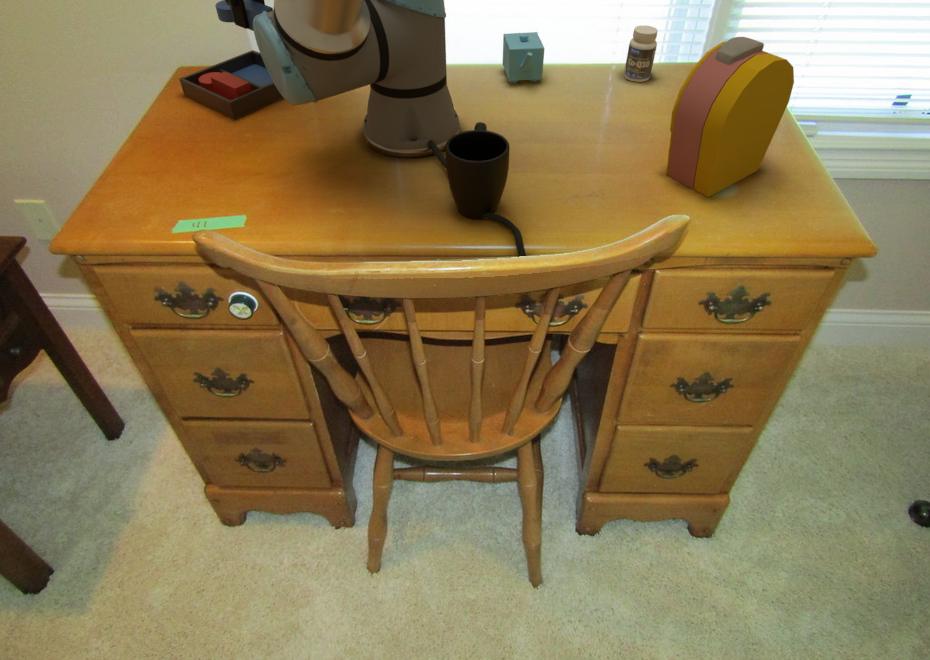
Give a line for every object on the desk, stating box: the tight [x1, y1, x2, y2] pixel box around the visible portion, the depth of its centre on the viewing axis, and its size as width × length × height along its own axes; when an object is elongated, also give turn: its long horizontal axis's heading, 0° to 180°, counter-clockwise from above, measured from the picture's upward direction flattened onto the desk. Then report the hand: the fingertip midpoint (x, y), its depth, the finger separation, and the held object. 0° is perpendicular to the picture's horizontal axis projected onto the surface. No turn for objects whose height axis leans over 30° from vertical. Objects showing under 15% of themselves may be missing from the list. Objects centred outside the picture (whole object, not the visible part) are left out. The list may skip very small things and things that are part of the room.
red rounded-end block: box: [199, 72, 252, 101], centre depth 109 cm, size 12×5×3 cm, turn 51°
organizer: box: [178, 49, 284, 120], centre depth 112 cm, size 15×16×3 cm
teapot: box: [502, 31, 545, 84], centre depth 113 cm, size 12×6×8 cm, turn 6°
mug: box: [444, 121, 511, 221], centre depth 85 cm, size 8×12×10 cm
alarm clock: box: [665, 36, 795, 198], centre depth 86 cm, size 15×8×18 cm, turn 127°
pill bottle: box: [623, 24, 658, 83], centre depth 112 cm, size 5×5×8 cm
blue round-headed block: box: [214, 0, 274, 32], centre depth 101 cm, size 12×5×3 cm, turn 51°
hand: (252, 22), depth 101 cm, fingers closed on blue round-headed block, 3 cm apart
